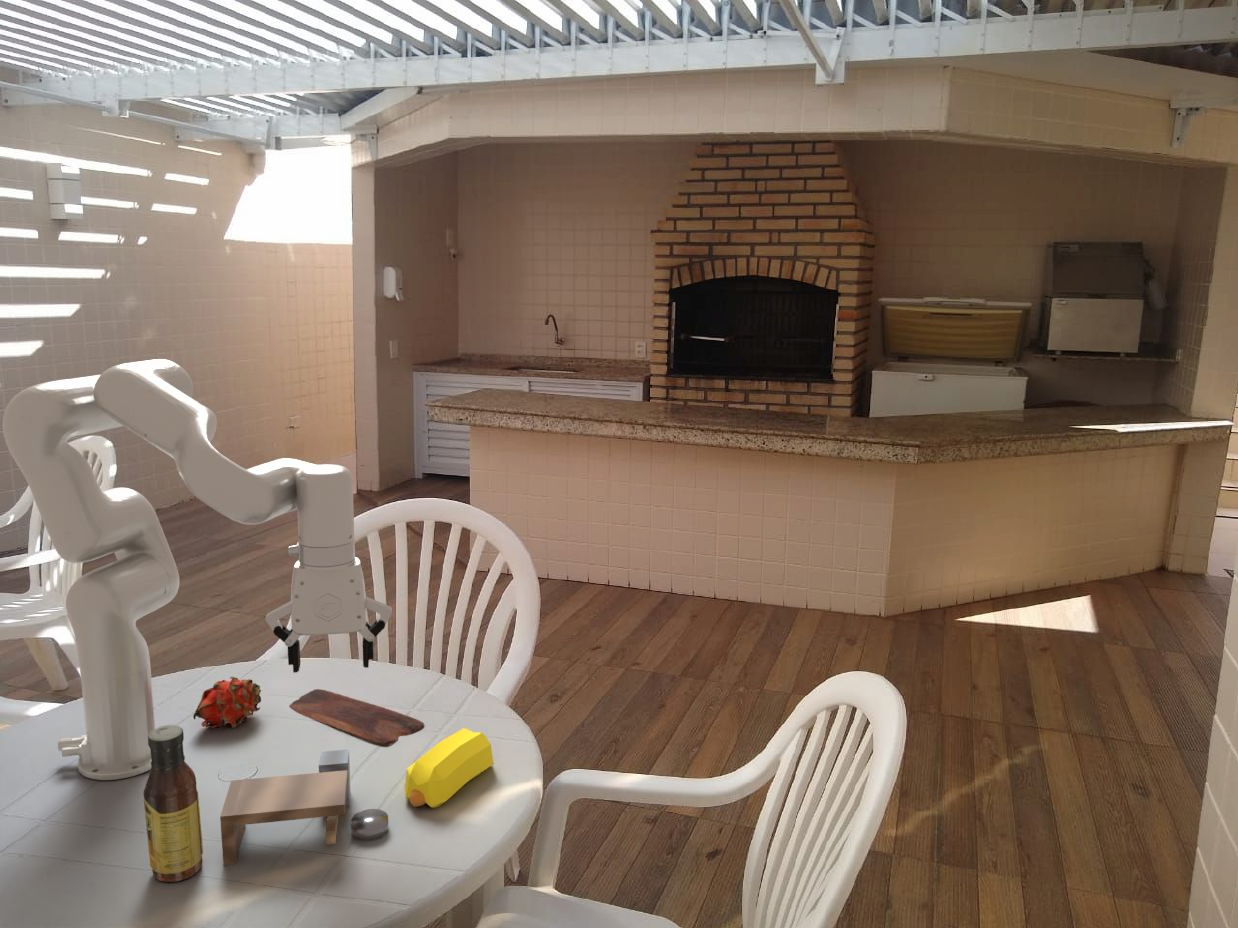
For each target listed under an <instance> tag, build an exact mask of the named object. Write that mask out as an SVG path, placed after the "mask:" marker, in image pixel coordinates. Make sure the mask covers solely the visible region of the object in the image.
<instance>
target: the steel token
mask: <svg viewBox="0 0 1238 928" xmlns="http://www.w3.org/2000/svg"><path fill="white" fill-rule="evenodd" d="M350 827H351V828H350V829H351V830H350V831H351V836H352V837H353V839H356V840H358V841H362V842H372V841H376V840H379V839H381V838H383V837H384V836H386V834H388V832H389V814H388V813H387V812H386V811H384V810H382V809H379V808H378V809H377V808H369V809H364V810H360V811H359V812H356V813H355V814H354V815H353V816H352V818H351V819H350Z"/></svg>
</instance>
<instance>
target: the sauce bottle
mask: <svg viewBox="0 0 1238 928" xmlns="http://www.w3.org/2000/svg"><path fill="white" fill-rule="evenodd" d="M184 739H185V737H184V728H183V727H182V726H179V725H177V724H166V725H162V726H158V727H155V729H154V730H152V731H151V732H150V733H149V734H148V745H149V747H150V749H151V760H152V761H151V769H150V770H149V773H148V776H147V780H146V782H145V786H144V789H143V791H142V792H143V793H142V794H143V804H144V805H143V806H144V813H145V824H146V836H147V846H148V854H149V865H150V868H151V869H152V875H153V878H155V879H156V880H157V881H159V882H164V883H175V882H180V881H184V880H186V879H189V878H191V877H192V876H194V875H195V874H196V873H197V872H198V871H199V870H201V868H202V866H203V853H204V850H203V849H204V848H203V846H204V845H203V836H202V823H201V814H200V812H201V811H200V810H201V809H200V801H199V800H200V799H199V792H198V789H197V778H196V774H195V772H194V770H193V769H192V767H190V766H189V764H188V763H187V762H186V761H185V758H186V757H185V754H184Z"/></svg>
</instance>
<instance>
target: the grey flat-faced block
mask: <svg viewBox="0 0 1238 928" xmlns="http://www.w3.org/2000/svg"><path fill="white" fill-rule="evenodd" d="M350 769H351V768H350V749H338V750H327V751H326V750H324V751H320V755H319V760H318V773H322V772H333V771H344V770H347V771H348V783H347V795H346V807H345V808H349V807H350V803H351V773H350ZM326 818H327V819H326V827H325V841H326V842H325V844H326V846H327V845H328V846H330V845H336V843H337V842H336V841H337V835H338V834H337V833H338V832H337V831H338V825H339V824H338V823H339V815H337V816H327V817H326Z"/></svg>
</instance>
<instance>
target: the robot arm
mask: <svg viewBox="0 0 1238 928" xmlns="http://www.w3.org/2000/svg"><path fill="white" fill-rule="evenodd" d="M193 397H194V384H193V381H192V378H191V377H190V374H189V373H188V372H187V371H186V370H185V369H184V368H183V367H182V366H181V365H179V364H177V363H176V362H173V361H171V360H169V359H165V358H157V359H156V358H155V359H148V360H147V359H146V360H141V361H132V362H125V363H121V364H117V365H114V366H111V367H110V368H107V369H106V370H105V371H103V372H102V373H101V374H94V375H88V376H80V377H73V378H66V379H65V378H64V379H58V380H51V381H46V382H42V383H37V384H34V385H32V386H29V387H26V388H25V389H22V390H21V391H20V392H18V393H17V394H15V395H14V396H13V398H11V399H10V401H9V402H8V404H7V405H6V408H5V410H4V414H3V419H2V432H3V437H4V441H5V444H6V446H7V448H8V451H9V453H10V455H11V457H12V459H13V460H14V462H15V463H16V465H17V466H18V468H19V470H20V471H21V473H22V475H23V477H24V479H25V480H26V482H27V485H28V486H29V489H30V490H31V494H32V498H33V499H34V502H35V504H36V507H37V509H38V512H39V514H40V515H39V516H40V517H41V519H42V521H43V524H44V526H45V529H46V532H47V534H48V536H49V540H50V541H51V543H52V545H53V547H54V549H55V551H56V553H57V554H58V555H59V556H60V558H61V559H63V560H65V561H66V562H68V563H72V564H82V563H89V562H92V561H94V560H97V559H100V558H102V557H105V556H108V555H111V554H113V553H114V555H115V557H116V560H115V561H112V562H110V563H107V564H105V565H103V566H100V567H98V568H95V569H93V570H90V571H89V572H87V573H85V574H84V575H82V576H80V577H79V578H78V579H76V580H75V581H74V582H73V584H71V586H70V587H69V589H68V591H67V593H66V597H65V609H66V613H67V614H66V615H67V616H68V620H69V622H70V626H71V629H72V631H73V634H74V639H75V642H76V650H77V655H78V663H79V673H80V681H81V692H82V701H83V703H82V704H83V711H84V720H85V721H84V723H85V732H86V734H82V735H81V736H80V737H64V738H63V737H62V738H60V739H58V743H57V750H58V751H59V752H61V756H62V757H73V756H78V757H79V758H78V760H77V769H78V773H80V774H81V775H82V776H84V777H85V778H89V779H92V780H97V781H113V780H121V779H127V778H132V777H135V776H138V775H141V774H144V773H146V772H148V771H150V769H151V761H152V760H151V749H150V747H149V745H148V734H149V733H150V732H151V731H152V730H154V729H156V720H155V707H154V697H153V696H154V695H153V684H152V683H153V682H152V681H153V680H152V671H151V670H152V669H151V658H150V651H149V646H148V643H147V641H146V639H145V638H144V636H143V635H142V634H141V632H140V631H139V629H138V627H137V624H136V623H137V621H138V620H139V619H142V618H144V616H146V615H148V614H150V613H153V612H155V611H157V610H159V609H161V608H162V607H164V606H166V605H167V604H169V603H171V601H172V600H173V599H175V597H176V595H177V594H178V591H179V589H180V574H179V570H178V566H177V563H176V561H175V559H174V555H173V553H172V550H171V548H170V545H169V543H168V540H167V538H166V536H165V532H164V530H163V527H162V525H161V523H160V520H159V517H158V516H157V515H158V514H157V512H156V511H155V509H154V507H153V506H152V504H151V503H150V501H149V500H148V499H147V498H146V497H145V496H144V495H143V494H142V493H140V492H139V491H137V490H135V489H132V488H129V487H124V486H123V487H113V488H107V489H106V490H102V489H101V488H100V485H99V484H98V481H97V479H96V477H95V474H94V470H93V468H92V466H91V465H90V463H89V462H88V461H87V459H86V458H85V456H83V455H82V454H81V453H80V452H79V451H78V450H77V449H76V448H74V446H72V445H71V444H70V443H68V440H70V439H71V438H74V437H78V436H85V435H89V434H94V433H98V432H103V431H108V430H112V429H116V428H121V427H124V428H126V429H127V430H129V431H131V432H132V433H133V434H135V435H136V436H138V437H140V439H143V440H144V441H146V442H147V443H148V444H150V445H152V446H153V447H155V448H157V449H158V450H160V451H161V452H163V453H165V454H166V455H167V456H169V457H171V458H172V459H173V460H174V462H175V465H176V469H177V472H178V474H179V476H180V478H181V479H182V481H183V483H184V484H185V486H186V487H187V489H188V490H189V491H190V492H191V493H192V495H194V497H196V498H197V499H198V500H199V501H201V502H202V503H204V505H207V506H209V507H210V508H212V509H213V510H214V511H216V512H218V513H219V514H221V515H222V516H224V517H226V518H228V519H230V520H231V521H233V522H237V523H240V524H242V525H251V526H252V525H259V524H263V523H266V522H267V521H270V520H273V519H275V518H277V517H278V516H281V515H283V514H287V513H290V512H293V511H296V510H297V511H296V512H297V528H298V529H297V531H298V533H297V534H298V536H297V537H298V542H297V543H296V544H294V545H291V546H288V547H287V550H288V551H287V552H288V553H287V555H288V556H294V557H296V559H298V560H297V561H296V562H295V564H294V565H293V569H292V575H291V587H290V588H291V589H290V590H291V591H290V601H288V602H286V603H284V604H282V605H280V606H279V607H277V608H275V609H273V610H271V611H270V612H268V613H267V614H266V615H265V618H264V619H265V622H266V624H267V626H268V627H269V628H270V629H271V631H272V632H273V634H274V636H275V637H277V638H279V640H281V642H283V643H284V644H285V646H286V647H287V659H288V660H287V661H288V662H287V663H288V666H292V671H293V673H296V674H297V673H298V672H300V668H301V644H300V643H301V642H300V640H299V638H300V637H301V636H324V635H325V636H326V635H338V634H339V635H340V634H352V633H357V632H358V633H359V634H360V635H361V636H362V663H363V664H362V665H363V668H365V669H369V667H370V666H369V662H370V661H369V660H374V640H375V638H376V637H377V636H378V635H380V633H381V632H382V631H383V630H384V629H385V628H386V625H387V623H388V621H389V619H390V618H391V616H392V613H393V607H392V606H390V605H387V604H386V603H382V602H380V601H378V600H376V599H374V598H371V597H368V596H366V595H367V594H366V585H365V584H366V583H365V578H364V573H363V567H362V565H361V560H360V559H359V557H356V545H355V544H356V543H355V515H354V510H355V509H354V489H353V487H354V485H353V484H354V483H353V475H352V472H351V471H350V469H349V468H348V467H345V466H342V465H340V464H330V463H329V464H327V463H326V464H324V463H323V464H316V463H311V462H307V461H303V460H299V459H296V458H290V457H289V458H288V457H283V458H277V459H274V460H271V461H268V462H265V463H261V464H258V465H255V466H252V467H250V468H244V467H242V466H240V465H239V464H237V463H236V462H234V461H232V460H230V458H228V457H226V456H225V455H224V454H222V453H220V452H219V451H218V450H217V449H216V448H215V447H214V446H213V444H212V441H213V439H214V438H215V437H214V436H215V434H216V432H217V427H218V419H217V415H216V414H215V412H214V411H212V410H211V409H210V408H209V407H207V406H205V405H203V404H202V403H200V402H199V401H197V400H196V399H194V398H193ZM367 609H368V610H369V611H372V612H375V613H377V614H378V615H379V617H378V618H377V619H376V620H375V621H374V622H373V623H372V624H370V623H369V621H368V620H367ZM289 614H290V621H291V628H290V629H288V628H287V627H286V626H284V624H282V623H281V621H280V619H282V618H283V617H286V616H287V615H289Z"/></svg>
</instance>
